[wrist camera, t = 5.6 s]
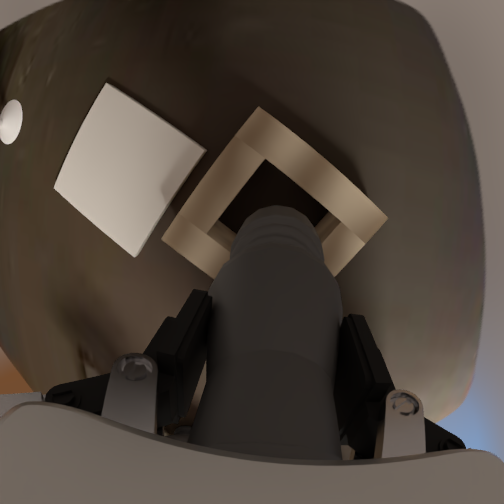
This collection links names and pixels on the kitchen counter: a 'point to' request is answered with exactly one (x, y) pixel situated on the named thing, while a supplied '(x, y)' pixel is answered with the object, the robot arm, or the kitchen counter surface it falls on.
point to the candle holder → (272, 344)
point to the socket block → (295, 167)
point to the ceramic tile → (126, 168)
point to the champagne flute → (10, 121)
